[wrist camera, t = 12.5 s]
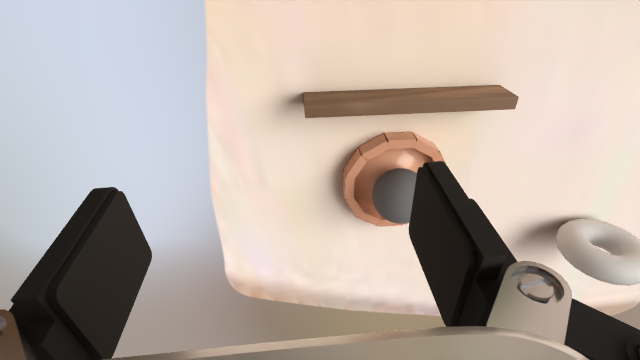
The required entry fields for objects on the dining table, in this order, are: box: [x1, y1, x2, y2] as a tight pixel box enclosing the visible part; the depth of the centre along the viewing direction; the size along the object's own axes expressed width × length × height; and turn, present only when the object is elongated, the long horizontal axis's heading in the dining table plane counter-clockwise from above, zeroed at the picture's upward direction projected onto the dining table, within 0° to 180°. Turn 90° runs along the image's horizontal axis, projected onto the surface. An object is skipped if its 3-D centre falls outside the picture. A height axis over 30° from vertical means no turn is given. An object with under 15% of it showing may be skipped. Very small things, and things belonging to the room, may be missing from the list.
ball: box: [372, 168, 417, 224], centre depth 38 cm, size 6×6×6 cm
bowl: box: [343, 132, 446, 226], centre depth 40 cm, size 12×12×2 cm
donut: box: [556, 219, 640, 286], centre depth 43 cm, size 10×4×10 cm, turn 89°
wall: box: [303, 85, 518, 118], centre depth 34 cm, size 1×20×4 cm, turn 92°
